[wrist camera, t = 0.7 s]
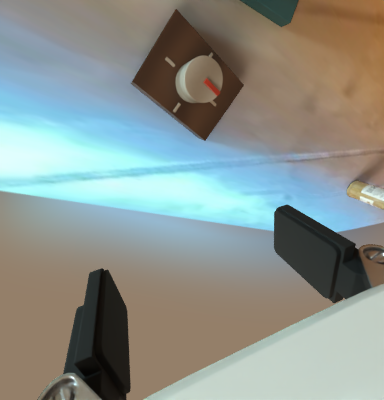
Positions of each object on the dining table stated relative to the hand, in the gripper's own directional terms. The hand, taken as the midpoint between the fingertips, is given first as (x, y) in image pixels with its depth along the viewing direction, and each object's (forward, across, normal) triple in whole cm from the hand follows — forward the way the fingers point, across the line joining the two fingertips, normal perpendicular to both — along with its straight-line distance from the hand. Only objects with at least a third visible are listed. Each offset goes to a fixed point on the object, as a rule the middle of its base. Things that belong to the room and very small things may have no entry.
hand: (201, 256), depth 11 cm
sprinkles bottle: (+27, -48, +21) cm, 59 cm away
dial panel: (+26, -9, -9) cm, 29 cm away
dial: (+23, -9, -9) cm, 26 cm away
